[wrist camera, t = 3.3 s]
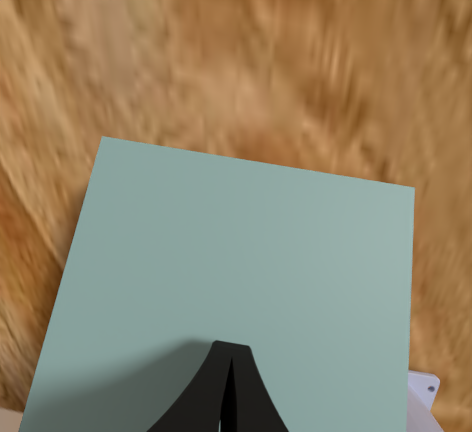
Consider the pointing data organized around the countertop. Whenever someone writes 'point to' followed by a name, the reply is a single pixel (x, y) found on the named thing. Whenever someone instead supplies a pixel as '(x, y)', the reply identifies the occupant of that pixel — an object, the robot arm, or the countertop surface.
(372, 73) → the countertop surface
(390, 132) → the countertop surface
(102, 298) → the lid
